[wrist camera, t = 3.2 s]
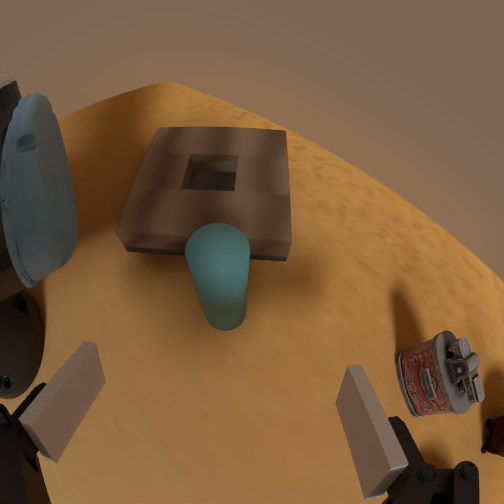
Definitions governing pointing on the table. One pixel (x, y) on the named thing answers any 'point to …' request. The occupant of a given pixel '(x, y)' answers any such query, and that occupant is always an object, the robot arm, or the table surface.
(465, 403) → the lighter
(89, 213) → the table surface
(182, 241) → the hole board
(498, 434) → the mate gourd
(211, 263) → the pin
